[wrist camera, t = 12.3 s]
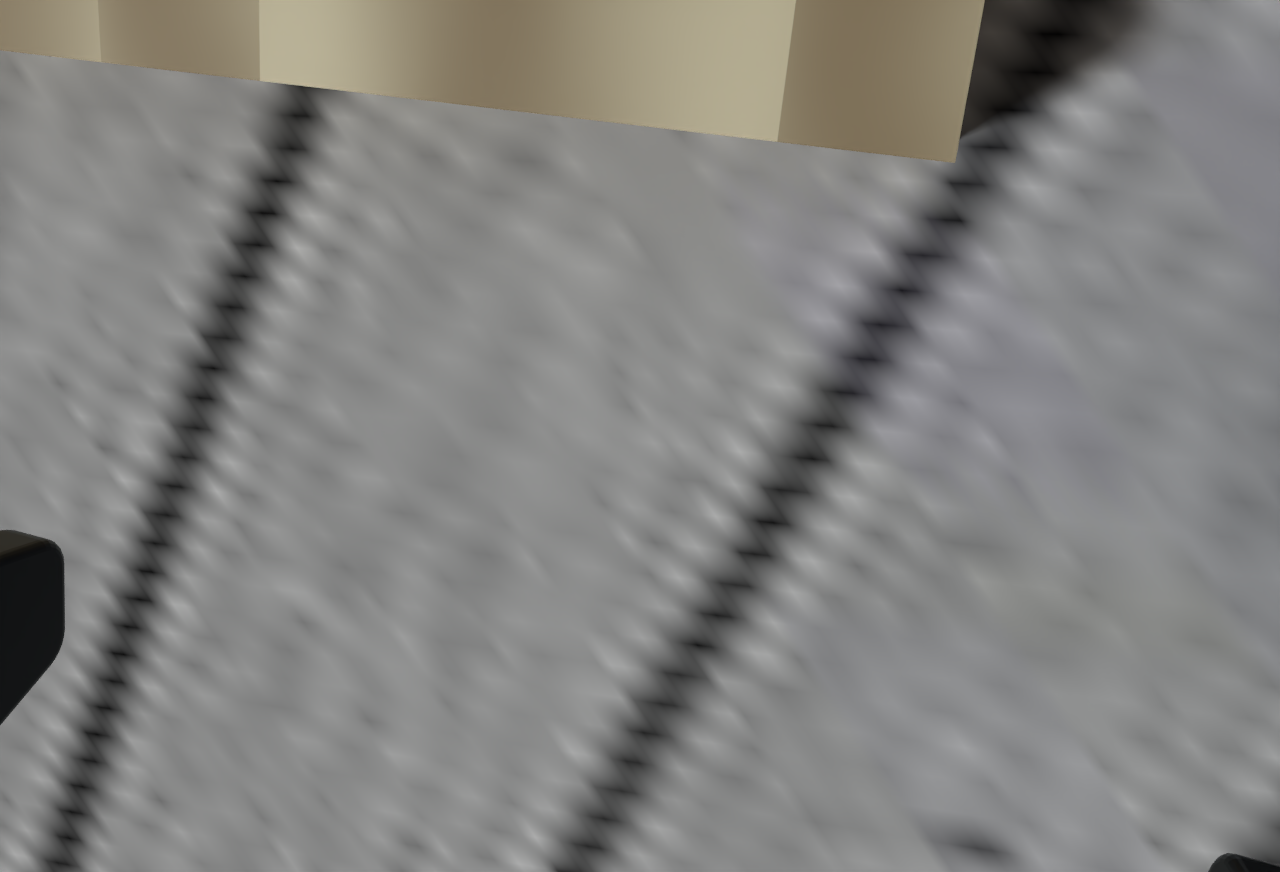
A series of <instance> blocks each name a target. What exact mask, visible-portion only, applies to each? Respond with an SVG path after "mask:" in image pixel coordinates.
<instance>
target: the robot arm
mask: <svg viewBox="0 0 1280 872" xmlns="http://www.w3.org/2000/svg"><path fill="white" fill-rule="evenodd" d="M64 632H65V597H64V557H63V554H62V551H61V549H60V548H59V546H58V545H57V544H56V543H55V542H53V541H51V540H48V539H45V538H41V537H38V536H34V535H30V534H26V533H22V532H19V531H15V530H0V725H1V724H2V723H3V721H4V720H5V719H6V718H7V717H8V715H9V714H10V713H11V712H12V711H13V709H14V708H15V707H16V706H17V705H18V703H19V702H20V701H21V700H22V699H23V698H24V696H25V695H26V694H27V693H28V692H29V690H30V689H31V688H32V687H33V686H34V684H35V683H36V682H37V681H38V680H39V678H40V677H41V676H42V675H43V674H44V672H45V671H46V670H47V669H48V668H49V667H50V665H51V664H52V663H53V661H54V660H55V658H56V656H57V654H58V653H59V650H60V648H61V645H62V642H63V638H64ZM1209 872H1280V866H1279V865H1276V864H1272V863H1268V862H1264V861H1260V860H1256V859H1253V858H1249V857H1245V856H1241V855H1237V854H1232V853H1227V854H1224V855H1222V856H1220V857H1218V858H1217V859H1216V861H1215V862H1214V863H1213V864H1212V866H1211V868H1210V870H1209Z"/></svg>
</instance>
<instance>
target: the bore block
mask: <svg viewBox="0 0 1280 872" xmlns="http://www.w3.org/2000/svg"><path fill="white" fill-rule="evenodd" d="M984 2H985V0H0V50H3V51H11V52H20V53H28V54H37V55H45V56H54V57H62V58H71V59H79V60H88V61H96V62H105V63H113V64H121V65H130V66H138V67H147V68H155V69H164V70H172V71H181V72H189V73H198V74H206V75H215V76H223V77H232V78H240V79H249V80H257V81H266V82H274V83H283V84H291V85H300V86H308V87H317V88H325V89H333V90H342V91H350V92H359V93H367V94H376V95H384V96H393V97H401V98H410V99H418V100H427V101H435V102H444V103H452V104H461V105H469V106H478V107H486V108H495V109H503V110H512V111H520V112H529V113H537V114H546V115H554V116H562V117H571V118H579V119H588V120H596V121H605V122H613V123H622V124H630V125H639V126H647V127H656V128H664V129H673V130H681V131H690V132H698V133H707V134H715V135H724V136H732V137H741V138H749V139H758V140H766V141H775V142H783V143H791V144H800V145H808V146H817V147H825V148H834V149H842V150H851V151H859V152H868V153H876V154H885V155H893V156H902V157H910V158H919V159H927V160H936V161H944V162H953V163H955V160H956V155H957V149H958V144H959V138H960V133H961V128H962V122H963V117H964V111H965V106H966V100H967V95H968V89H969V84H970V78H971V73H972V68H973V62H974V57H975V51H976V46H977V40H978V35H979V29H980V24H981V19H982V13H983V8H984Z"/></svg>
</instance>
